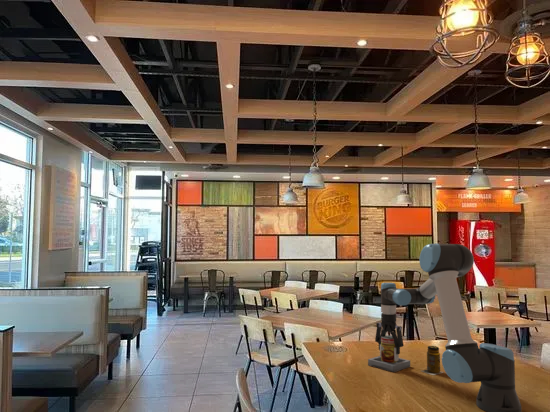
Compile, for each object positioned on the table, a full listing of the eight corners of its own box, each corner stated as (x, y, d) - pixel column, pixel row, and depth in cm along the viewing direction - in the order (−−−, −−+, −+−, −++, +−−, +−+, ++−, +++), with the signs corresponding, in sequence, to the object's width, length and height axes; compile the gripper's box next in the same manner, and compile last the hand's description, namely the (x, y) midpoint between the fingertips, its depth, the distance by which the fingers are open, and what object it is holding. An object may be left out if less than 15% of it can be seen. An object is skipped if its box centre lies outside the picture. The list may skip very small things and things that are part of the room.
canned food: (379, 361, 210) (379, 337, 211) (383, 358, 216) (383, 334, 218) (395, 364, 206) (395, 339, 207) (398, 360, 213) (398, 336, 214)
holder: (393, 372, 200) (393, 365, 201) (368, 365, 212) (368, 359, 212) (410, 366, 210) (410, 360, 211) (385, 360, 222) (385, 354, 222)
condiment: (444, 372, 201) (443, 347, 202) (433, 375, 197) (432, 349, 198) (431, 368, 207) (430, 344, 208) (420, 371, 203) (419, 346, 204)
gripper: (410, 315, 208) (411, 361, 206) (376, 309, 224) (376, 353, 221) (402, 316, 203) (403, 364, 201) (367, 311, 219) (367, 355, 217)
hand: (389, 358), depth 211 cm, fingers closed on canned food, 8 cm apart
